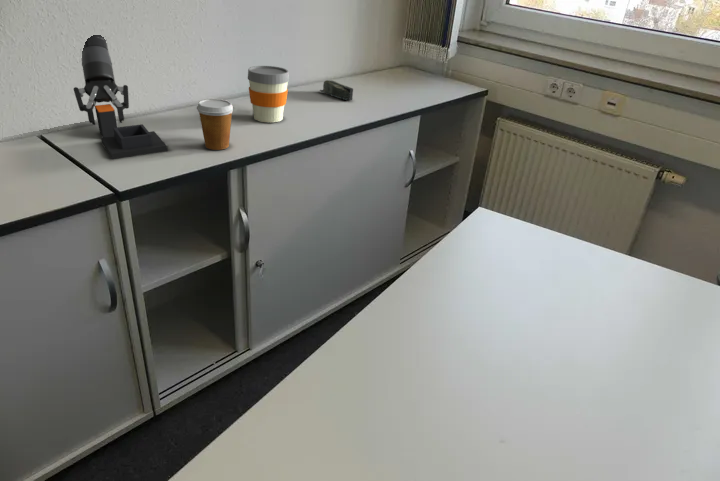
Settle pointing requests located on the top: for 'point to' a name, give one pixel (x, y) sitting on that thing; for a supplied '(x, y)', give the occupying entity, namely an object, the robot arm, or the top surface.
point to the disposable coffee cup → (215, 122)
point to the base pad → (132, 142)
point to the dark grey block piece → (337, 90)
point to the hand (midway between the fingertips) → (107, 122)
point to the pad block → (106, 120)
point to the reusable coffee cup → (268, 92)
